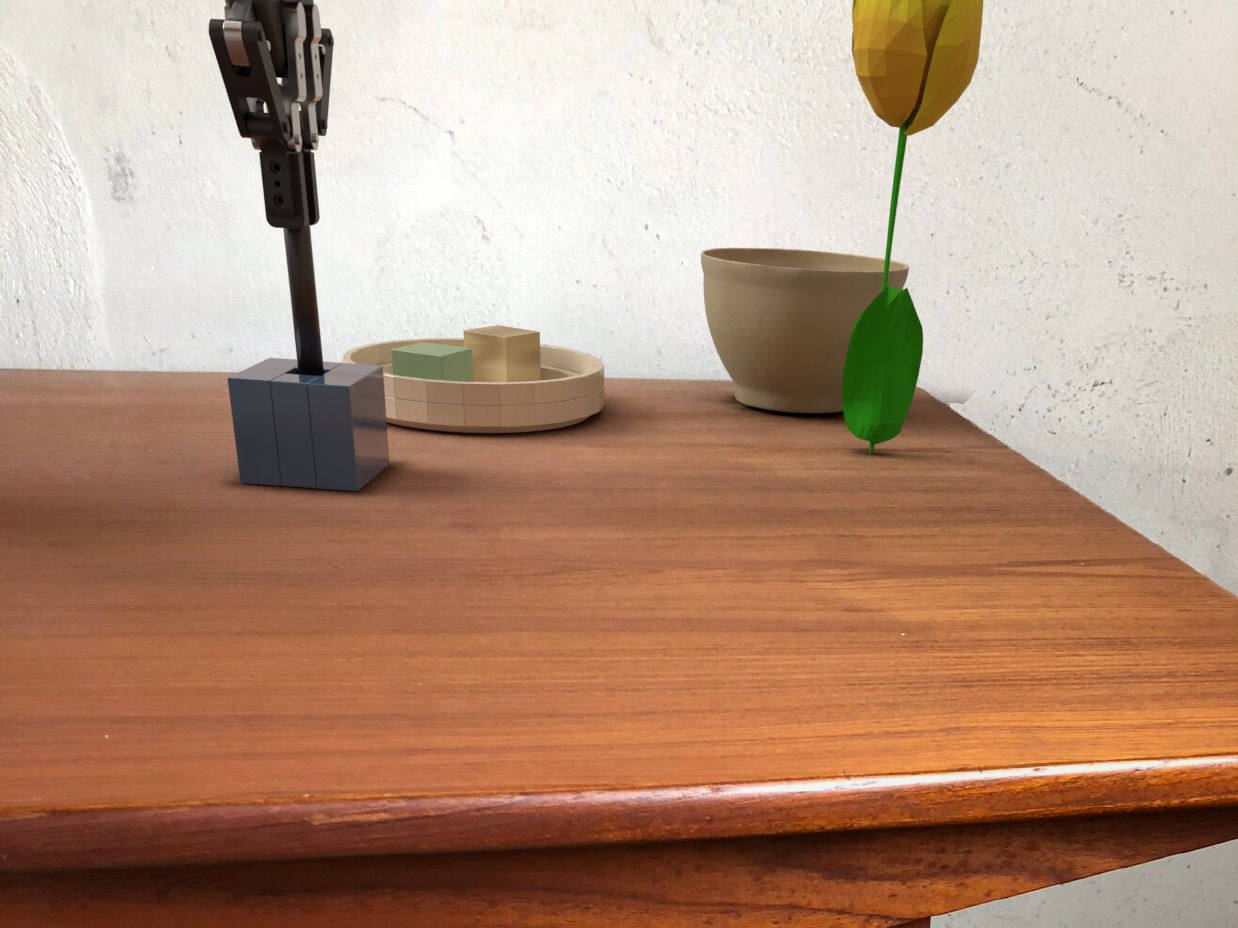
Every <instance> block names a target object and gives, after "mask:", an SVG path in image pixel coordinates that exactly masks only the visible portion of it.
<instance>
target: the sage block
mask: <svg viewBox="0 0 1238 928" xmlns="http://www.w3.org/2000/svg"><path fill="white" fill-rule="evenodd" d="M391 357H392V373H393V374H394V375H399V376H407V377H415V378H423V379H432V380H447V381H461V382H474V380H473V354H472V348H465V347H458V346H450V345H442V344H434V343H427V342H421V343H417V344H412V345H408V346H403V347H399V348H395V349H391Z"/></svg>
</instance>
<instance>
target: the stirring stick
mask: <svg viewBox="0 0 1238 928" xmlns="http://www.w3.org/2000/svg"><path fill="white" fill-rule="evenodd" d="M294 153H296V154H302V156H303V147H302V145H301V151H300V152H294ZM303 167H304V157H303ZM304 178H305V168H304ZM305 188H306V178H305ZM306 199H307V189H306ZM307 210H308V199H307ZM282 229H283V239H284V248H285V258H286V268H287V277H288V286H289V295H290V306H291V315H292V324H293V325H292V326H293V335H294V344H295V345H294V346H295V355H296V360H297V364H298V374H299V375H312V376H319V377H320V376H322V375H323V374H324V366H323V362H324V358H323V357H324V356H323V347H322V345H323V344H322V338H321V337H322V336H321V335H322V334H321V325H320V315H319V314H320V313H319V305H318V304H319V303H318V295H317V286H316V285H317V283H316V273H315V272H316V271H315V263H314V253H313V242H312V241H313V240H312V232H311V226H310V220H309V210H308V224H307V225H306V226H305V227H304V228H300V229H288V228H282Z"/></svg>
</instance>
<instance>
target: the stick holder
mask: <svg viewBox="0 0 1238 928" xmlns="http://www.w3.org/2000/svg"><path fill="white" fill-rule="evenodd" d="M323 366H324V374H323V375H322V376H320V377H319V376H312V375H299V374H298V364H297V359H295V358H294V359H293V358H281V357H280V358H279V357H268V358H266V359H264V360H262V361H260V362H258V363H255V364H254V365H251V366H249V367H247V368H245V369H243V370H241V371H239V372H237V373H235V374H232V375H230V376H228V377H227V386H228V387H227V388H228V393H229V401H230V409H231V418H232V425H233V426H232V427H233V433H234V443H235V451H236V459H237V466H238V474H239V482H240V484H247V485H261V486H273V487H274V486H275V487H281V486H282V487H290V488H305V489H318V490H331V491H343V492H345V491H346V492H359V491H360V490H361V489H362V488H364V487H365V486H366V485H368V483H369V482H371V481H372V480H373V479H374V478H375V477H377V476H378V475H379V474H380V473H382V472H383V470H385V469H386V468H388V467H389V466H390V463H391V462H390V450H389V435H388V434H389V433H388V422H387V420H386V405H385V391H384V377H383V366H381V365H366V364H352V363H343V362H336V361H323Z"/></svg>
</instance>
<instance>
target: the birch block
mask: <svg viewBox="0 0 1238 928" xmlns="http://www.w3.org/2000/svg"><path fill="white" fill-rule="evenodd" d="M462 333H463V338H464V347H465V348H472V354H473V380H474V382H526V381H540V380H541V378H540V344H541V332H540V331H537V330H531V329H525V328H518V327H513V326H512V327H511V326H506V325H500V324H497V325H489V326H483V327H476V328H470V329H469V328H468V329H464V330H463V332H462Z"/></svg>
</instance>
